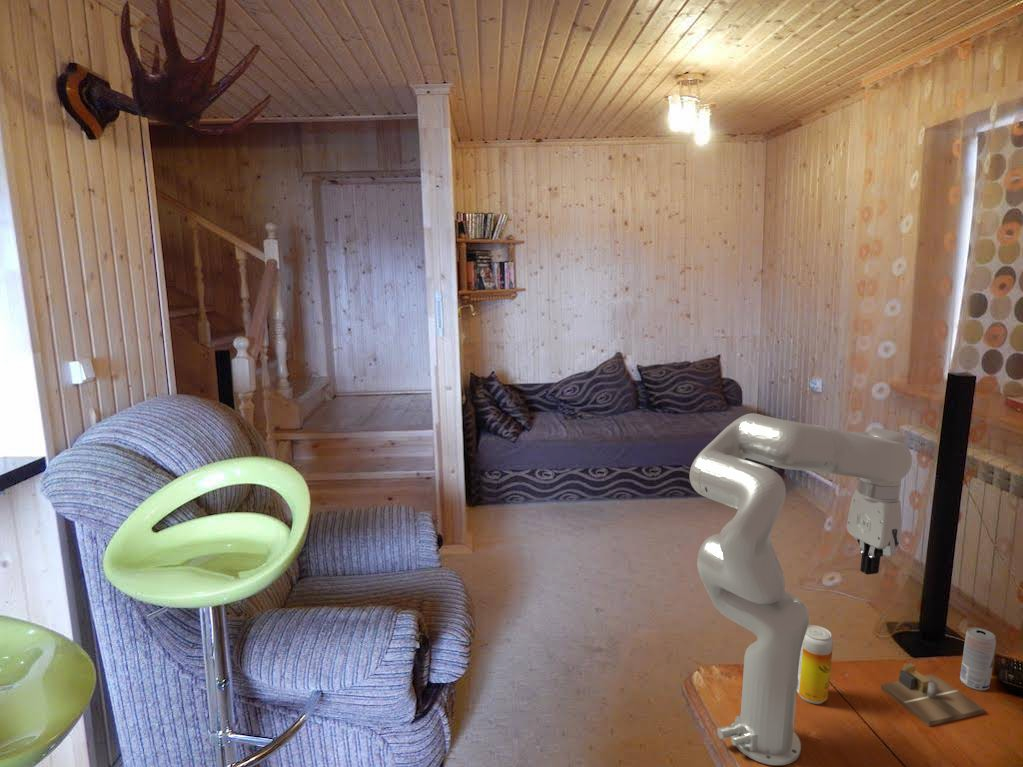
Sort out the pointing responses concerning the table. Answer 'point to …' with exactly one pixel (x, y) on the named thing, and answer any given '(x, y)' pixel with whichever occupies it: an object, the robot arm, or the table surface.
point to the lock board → (931, 700)
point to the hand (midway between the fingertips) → (869, 572)
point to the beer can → (815, 665)
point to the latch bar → (917, 677)
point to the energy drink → (978, 658)
